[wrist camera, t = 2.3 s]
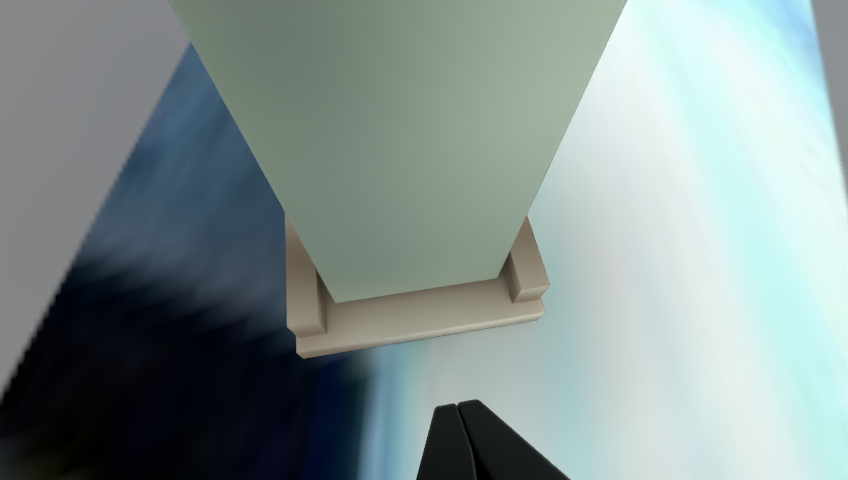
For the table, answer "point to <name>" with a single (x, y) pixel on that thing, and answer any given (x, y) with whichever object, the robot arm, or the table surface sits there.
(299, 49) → the sliding block
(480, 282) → the birch rail
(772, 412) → the table surface
